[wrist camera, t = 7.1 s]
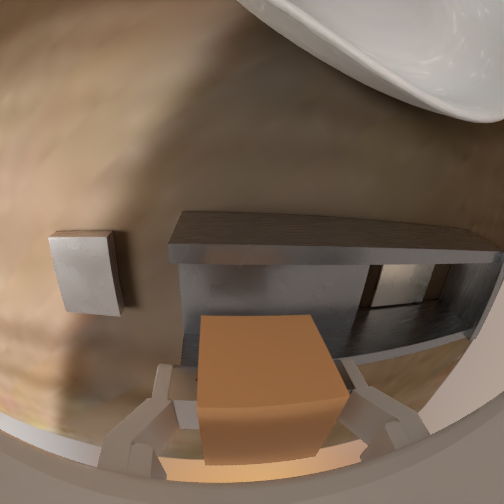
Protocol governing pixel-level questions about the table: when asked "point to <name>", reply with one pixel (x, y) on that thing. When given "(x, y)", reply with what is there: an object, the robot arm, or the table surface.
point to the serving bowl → (405, 48)
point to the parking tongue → (87, 271)
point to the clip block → (265, 389)
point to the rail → (335, 279)
